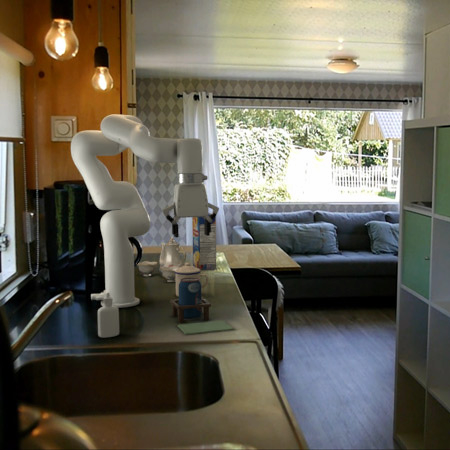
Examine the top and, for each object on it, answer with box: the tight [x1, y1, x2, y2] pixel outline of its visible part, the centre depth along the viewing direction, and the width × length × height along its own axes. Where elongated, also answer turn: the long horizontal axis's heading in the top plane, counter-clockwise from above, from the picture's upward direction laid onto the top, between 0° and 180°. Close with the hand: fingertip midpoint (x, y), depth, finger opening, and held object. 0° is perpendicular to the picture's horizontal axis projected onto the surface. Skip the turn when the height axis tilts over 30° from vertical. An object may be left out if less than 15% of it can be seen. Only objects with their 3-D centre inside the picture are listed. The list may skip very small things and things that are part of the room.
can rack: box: [169, 297, 212, 324], centre depth 198 cm, size 10×10×5 cm
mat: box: [176, 319, 235, 336], centre depth 187 cm, size 14×10×1 cm
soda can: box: [178, 278, 203, 321], centre depth 198 cm, size 7×7×12 cm
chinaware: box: [136, 236, 187, 283], centre depth 264 cm, size 28×17×17 cm, turn 49°
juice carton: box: [191, 212, 217, 271], centre depth 286 cm, size 12×8×24 cm, turn 21°
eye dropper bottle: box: [97, 293, 120, 339], centre depth 178 cm, size 4×6×12 cm
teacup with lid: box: [175, 262, 210, 298], centre depth 230 cm, size 12×9×12 cm
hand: (191, 236), depth 196 cm, fingers open, 9 cm apart
